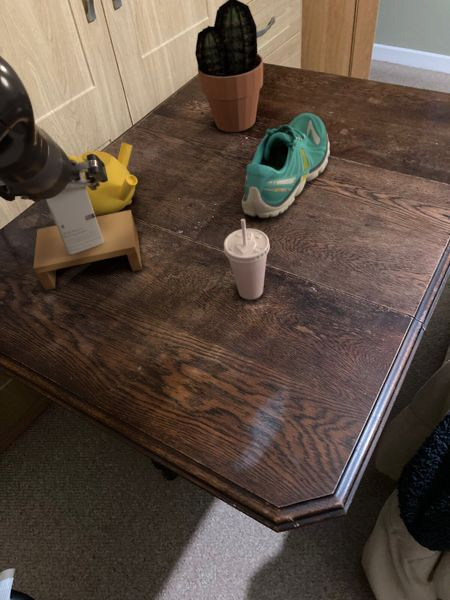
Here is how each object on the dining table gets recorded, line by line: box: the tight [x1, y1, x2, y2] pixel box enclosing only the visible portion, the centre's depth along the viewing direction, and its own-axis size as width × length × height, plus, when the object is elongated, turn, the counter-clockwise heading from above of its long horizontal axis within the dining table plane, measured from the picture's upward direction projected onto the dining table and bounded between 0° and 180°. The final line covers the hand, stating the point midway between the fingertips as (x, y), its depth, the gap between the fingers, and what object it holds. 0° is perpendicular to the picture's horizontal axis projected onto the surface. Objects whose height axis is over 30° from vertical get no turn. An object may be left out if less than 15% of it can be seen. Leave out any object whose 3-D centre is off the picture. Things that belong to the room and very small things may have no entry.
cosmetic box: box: [45, 180, 104, 255], centre depth 75 cm, size 6×4×12 cm
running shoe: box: [241, 112, 331, 219], centre depth 89 cm, size 11×29×11 cm, turn 155°
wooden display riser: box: [33, 209, 143, 291], centre depth 82 cm, size 16×10×5 cm, turn 102°
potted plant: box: [194, 0, 264, 133], centre depth 102 cm, size 14×14×25 cm
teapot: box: [67, 142, 138, 217], centre depth 90 cm, size 14×14×11 cm
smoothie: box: [223, 218, 271, 301], centre depth 70 cm, size 6×6×14 cm
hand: (65, 189), depth 74 cm, fingers open, 8 cm apart
